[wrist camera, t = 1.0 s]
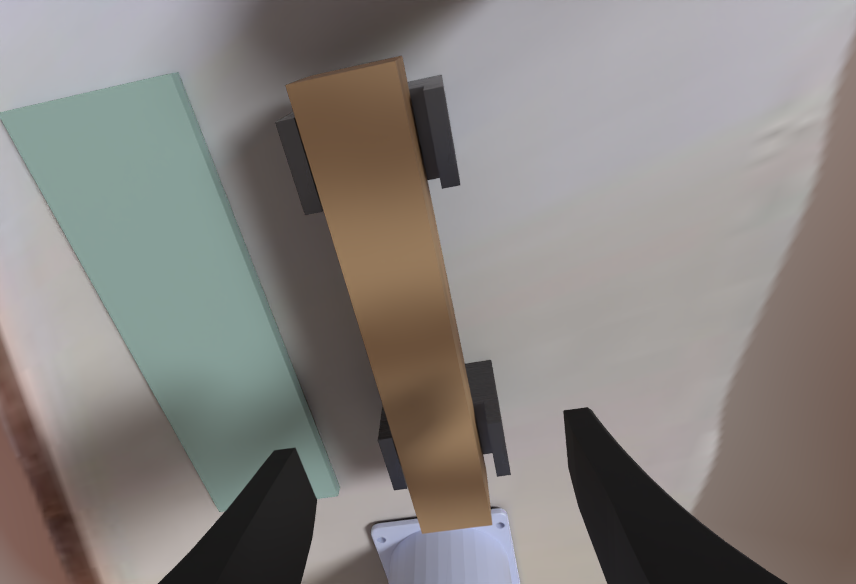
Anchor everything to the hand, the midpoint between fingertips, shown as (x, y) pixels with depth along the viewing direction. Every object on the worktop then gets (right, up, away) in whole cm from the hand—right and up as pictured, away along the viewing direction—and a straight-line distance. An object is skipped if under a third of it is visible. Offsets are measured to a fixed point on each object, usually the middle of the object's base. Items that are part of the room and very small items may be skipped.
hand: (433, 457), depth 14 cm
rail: (-1, +4, +6) cm, 8 cm away
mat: (-11, +2, +11) cm, 15 cm away
